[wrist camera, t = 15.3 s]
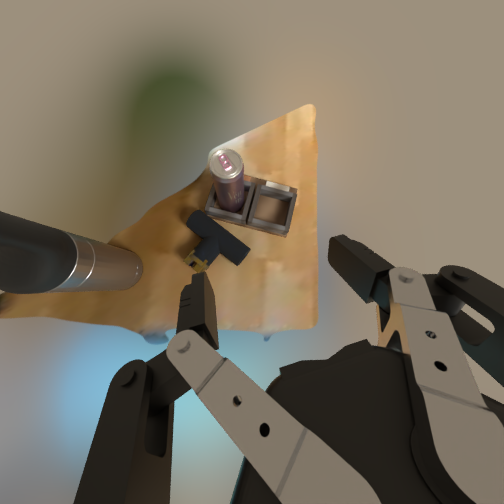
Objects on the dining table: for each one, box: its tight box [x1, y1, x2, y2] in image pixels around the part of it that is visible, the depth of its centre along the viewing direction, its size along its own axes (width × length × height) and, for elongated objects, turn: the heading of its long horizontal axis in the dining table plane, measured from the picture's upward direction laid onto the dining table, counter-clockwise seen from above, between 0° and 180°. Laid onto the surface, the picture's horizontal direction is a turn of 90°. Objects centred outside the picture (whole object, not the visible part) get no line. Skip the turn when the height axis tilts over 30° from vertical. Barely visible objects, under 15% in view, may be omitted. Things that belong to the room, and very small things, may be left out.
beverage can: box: [210, 149, 244, 213], centre depth 38 cm, size 6×6×15 cm
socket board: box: [205, 175, 297, 238], centre depth 45 cm, size 20×13×4 cm, turn 76°
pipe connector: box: [184, 210, 251, 273], centre depth 42 cm, size 12×5×15 cm
